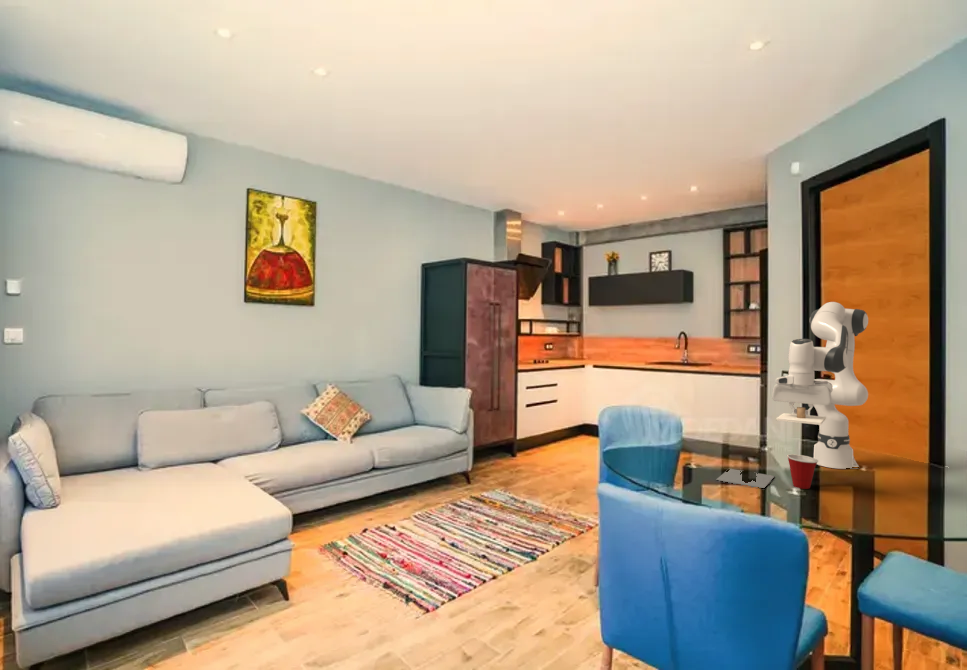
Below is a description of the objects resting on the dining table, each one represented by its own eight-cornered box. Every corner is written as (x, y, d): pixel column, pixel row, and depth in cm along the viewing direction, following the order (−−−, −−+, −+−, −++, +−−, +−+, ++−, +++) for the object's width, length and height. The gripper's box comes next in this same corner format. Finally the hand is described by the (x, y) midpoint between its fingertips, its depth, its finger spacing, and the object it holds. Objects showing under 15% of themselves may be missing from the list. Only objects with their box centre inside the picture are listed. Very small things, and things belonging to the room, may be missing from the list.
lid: (783, 414, 217) (783, 403, 216) (825, 418, 207) (826, 407, 207) (776, 420, 205) (776, 408, 205) (820, 424, 195) (820, 412, 195)
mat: (729, 469, 231) (729, 468, 231) (774, 477, 219) (774, 476, 219) (716, 480, 215) (716, 479, 215) (764, 489, 204) (764, 488, 204)
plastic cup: (823, 491, 200) (823, 461, 200) (792, 490, 202) (792, 460, 202) (811, 483, 211) (811, 454, 211) (782, 481, 213) (782, 453, 213)
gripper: (833, 380, 201) (833, 415, 202) (774, 377, 215) (774, 410, 215) (831, 382, 197) (831, 418, 197) (771, 378, 210) (771, 412, 210)
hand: (801, 414), depth 206 cm, fingers closed on lid, 3 cm apart
